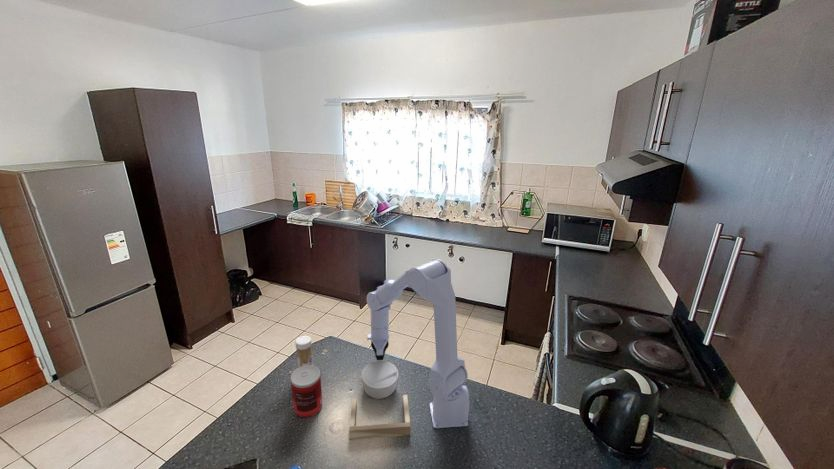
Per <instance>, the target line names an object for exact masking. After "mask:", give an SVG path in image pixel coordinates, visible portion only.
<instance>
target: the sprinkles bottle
mask: <svg viewBox="0 0 834 469" xmlns="http://www.w3.org/2000/svg"><path fill="white" fill-rule="evenodd" d="M294 342H295V349H296V358H297V360H296V361H297V366H298V367H297V368H299V367H301V366H305V365H313V366H314V359H313V351H312V344H313V343H312V338H311V337H310V336H308V335H301V336H299V337H297V338H296V339H295V341H294Z"/></svg>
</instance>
